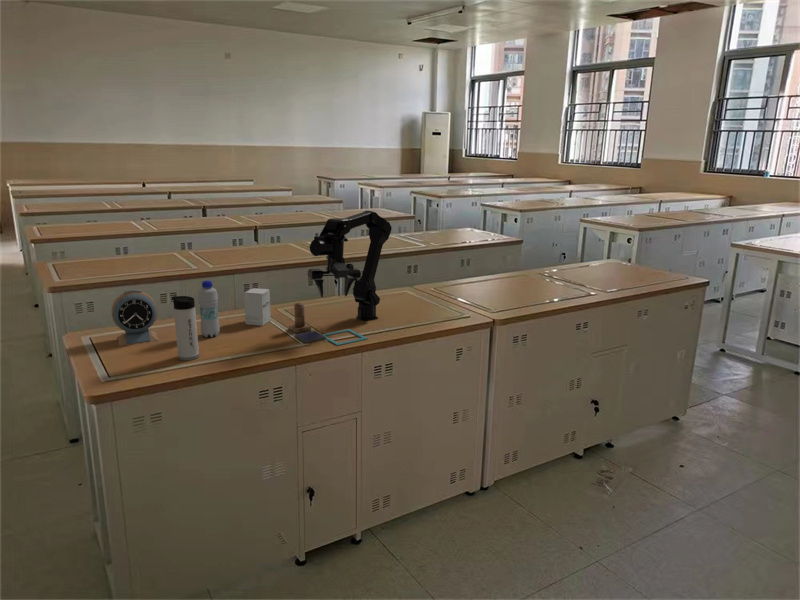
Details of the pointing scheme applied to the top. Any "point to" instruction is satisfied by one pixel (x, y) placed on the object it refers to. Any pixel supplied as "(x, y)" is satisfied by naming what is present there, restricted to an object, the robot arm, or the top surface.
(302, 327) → the stamp
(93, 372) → the top surface
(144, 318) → the alarm clock
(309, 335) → the ink pad
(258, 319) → the supplement box
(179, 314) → the travel mug
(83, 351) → the top surface
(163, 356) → the top surface
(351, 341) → the frame
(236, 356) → the top surface
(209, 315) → the bottle
